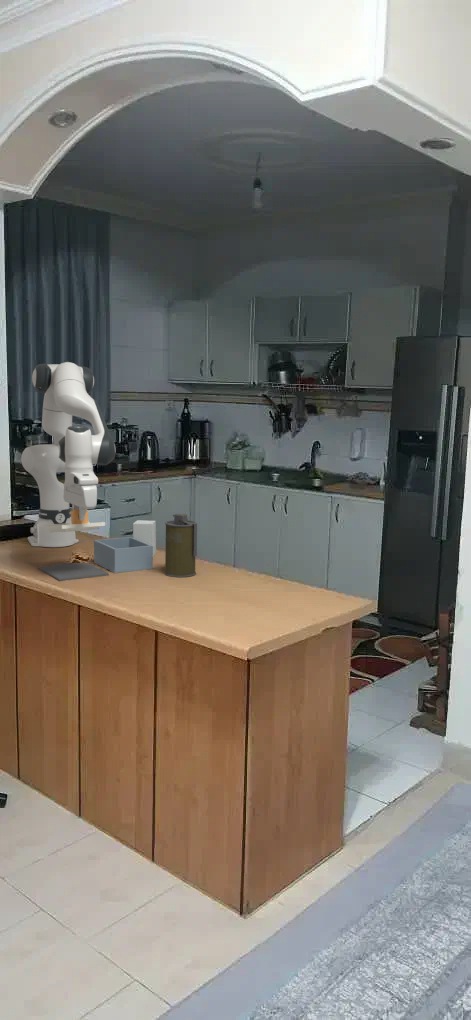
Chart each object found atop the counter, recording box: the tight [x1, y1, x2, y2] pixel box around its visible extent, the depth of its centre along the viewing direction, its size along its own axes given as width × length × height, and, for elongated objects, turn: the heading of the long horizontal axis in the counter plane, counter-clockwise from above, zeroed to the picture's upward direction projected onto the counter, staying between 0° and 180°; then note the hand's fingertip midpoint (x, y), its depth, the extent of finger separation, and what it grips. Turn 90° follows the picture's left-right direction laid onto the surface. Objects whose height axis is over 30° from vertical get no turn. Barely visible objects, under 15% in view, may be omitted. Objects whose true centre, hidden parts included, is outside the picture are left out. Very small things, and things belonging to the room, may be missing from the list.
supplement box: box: [132, 519, 157, 557], centre depth 291 cm, size 7×7×13 cm
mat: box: [38, 562, 110, 582], centre depth 264 cm, size 20×17×1 cm
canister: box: [164, 513, 198, 578], centre depth 263 cm, size 11×10×20 cm
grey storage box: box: [93, 536, 154, 574], centre depth 274 cm, size 18×14×8 cm
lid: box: [43, 509, 106, 533], centre depth 261 cm, size 19×15×7 cm
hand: (79, 519), depth 256 cm, fingers closed on lid, 2 cm apart
